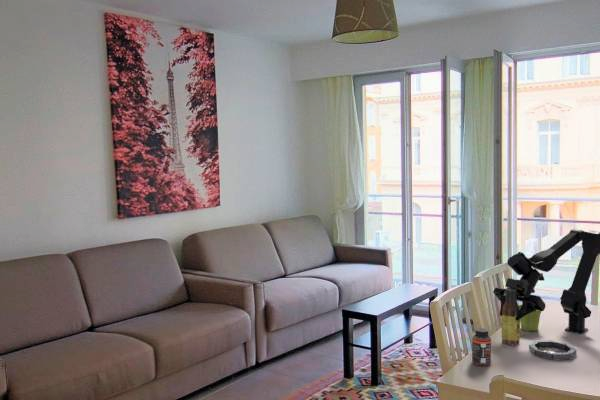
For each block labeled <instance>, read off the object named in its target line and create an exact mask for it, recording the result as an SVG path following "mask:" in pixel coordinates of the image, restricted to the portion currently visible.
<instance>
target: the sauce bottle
mask: <svg viewBox="0 0 600 400" xmlns="http://www.w3.org/2000/svg"><path fill="white" fill-rule="evenodd" d="M504 289H505V294H506V299H505V300H506V301H505V303H504V305H503V306H502V316H501V342H502V343H503V344H504V345H508V346H515V345H519V344H520V340H521V323H520V319H519V320H518V321H517V320H516V319H515V318H516V316H517V314H518V312H519V310H520V309H519V307H518V305H519V304H518V301H517V299H516V294H517V289H514V288H509V287H505V288H504Z"/></svg>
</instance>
